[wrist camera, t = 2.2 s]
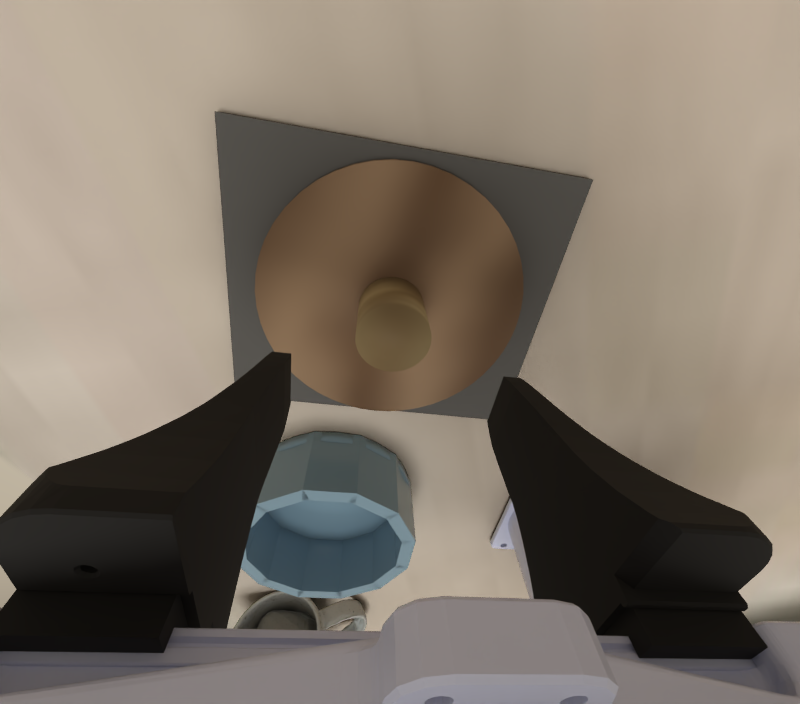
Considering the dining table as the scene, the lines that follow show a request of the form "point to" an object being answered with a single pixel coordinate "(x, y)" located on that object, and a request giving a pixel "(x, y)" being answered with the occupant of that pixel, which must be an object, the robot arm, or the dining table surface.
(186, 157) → the dining table surface
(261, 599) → the ceramic mug
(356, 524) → the slate-blue bowl
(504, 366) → the rubber mat
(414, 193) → the walnut cover
